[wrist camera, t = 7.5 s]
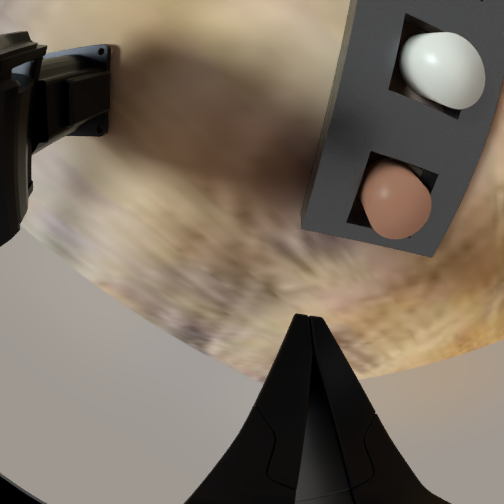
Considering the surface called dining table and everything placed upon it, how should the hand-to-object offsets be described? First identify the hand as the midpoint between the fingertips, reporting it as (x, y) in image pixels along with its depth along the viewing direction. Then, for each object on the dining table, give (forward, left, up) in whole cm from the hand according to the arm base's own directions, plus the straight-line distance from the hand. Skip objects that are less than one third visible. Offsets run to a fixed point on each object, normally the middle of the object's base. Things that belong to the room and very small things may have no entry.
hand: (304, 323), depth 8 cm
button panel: (+6, +9, -12) cm, 16 cm away
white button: (+6, +9, -11) cm, 15 cm away
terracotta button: (+6, +1, -11) cm, 13 cm away
